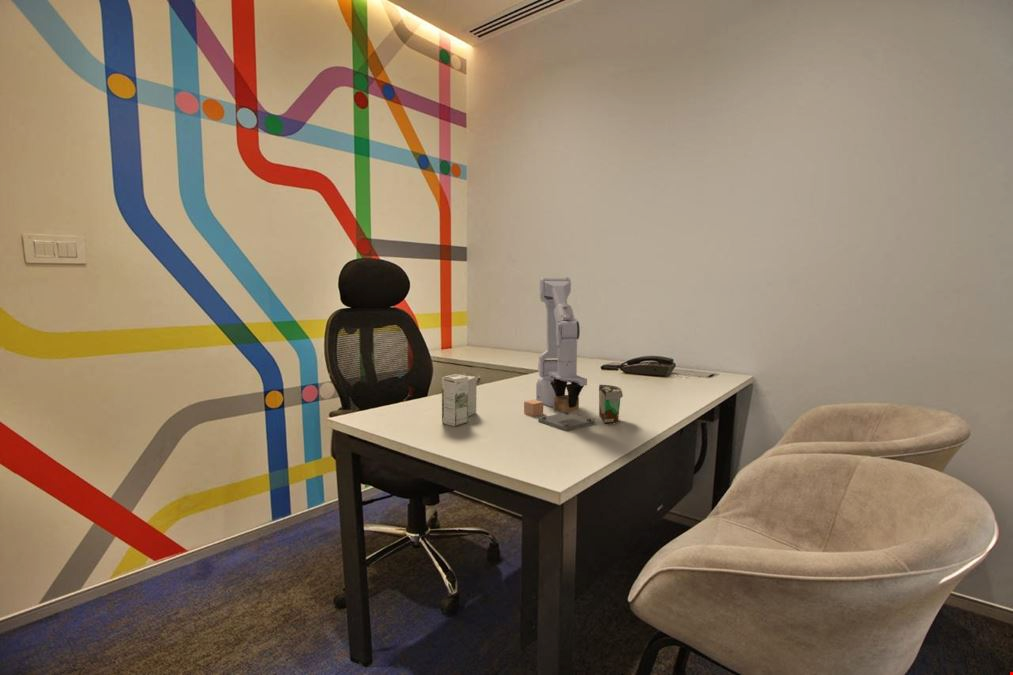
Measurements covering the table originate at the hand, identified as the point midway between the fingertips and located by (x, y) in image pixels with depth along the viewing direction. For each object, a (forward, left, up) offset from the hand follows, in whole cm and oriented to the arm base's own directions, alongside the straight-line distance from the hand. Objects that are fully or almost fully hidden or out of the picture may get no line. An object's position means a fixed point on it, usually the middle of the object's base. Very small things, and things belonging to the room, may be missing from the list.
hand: (566, 405), depth 147 cm
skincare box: (-26, -19, -6) cm, 33 cm away
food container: (+7, +13, -6) cm, 16 cm away
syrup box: (-20, -27, -6) cm, 34 cm away
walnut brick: (0, 0, -1) cm, 1 cm away
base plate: (0, 0, -5) cm, 5 cm away
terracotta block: (-14, -1, -6) cm, 15 cm away
